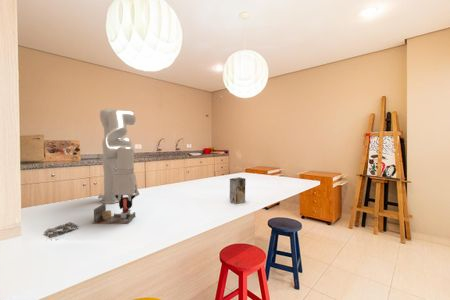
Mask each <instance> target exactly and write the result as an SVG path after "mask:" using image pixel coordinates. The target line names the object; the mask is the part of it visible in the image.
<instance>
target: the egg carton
mask: <svg viewBox="0 0 450 300" xmlns="http://www.w3.org/2000/svg"><path fill="white" fill-rule="evenodd" d="M79 226H80V225H77V224H75V223H74V222H71V221H68V222H67V223H64V224H62V225H61V224H60V225H58V226H54V227H51V228H50V227H49V228H47V229H46V230H45V231H44V232H43V233H44V234H45V236H47V237H50V238H55V237H58V236H60V235H61V234H67V233H68V232H70V231H75V230H78V227H79Z"/></svg>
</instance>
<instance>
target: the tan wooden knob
mask: <svg viewBox="0 0 450 300" xmlns="http://www.w3.org/2000/svg"><path fill="white" fill-rule="evenodd" d="M111 216H112V211H111V210H109V209H106V211H103V212H102V221H107V219H111Z"/></svg>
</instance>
